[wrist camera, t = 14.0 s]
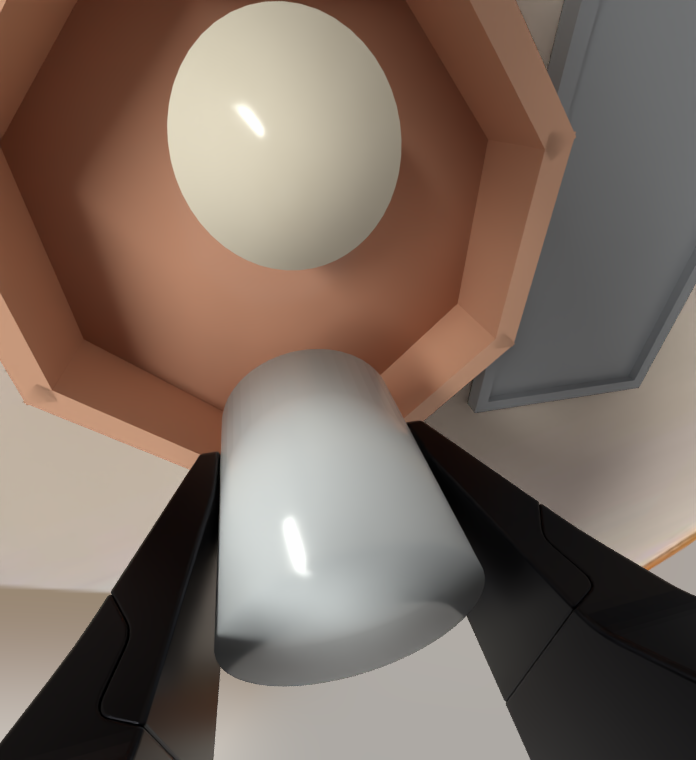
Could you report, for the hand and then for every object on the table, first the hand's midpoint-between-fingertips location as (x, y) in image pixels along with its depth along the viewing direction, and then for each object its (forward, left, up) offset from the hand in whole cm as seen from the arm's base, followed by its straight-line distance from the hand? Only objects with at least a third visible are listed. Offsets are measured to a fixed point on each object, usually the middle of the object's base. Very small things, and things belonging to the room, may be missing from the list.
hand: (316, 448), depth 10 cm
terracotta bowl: (-3, 0, -8) cm, 8 cm away
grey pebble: (0, 0, -1) cm, 1 cm away
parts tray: (-3, +14, -8) cm, 16 cm away
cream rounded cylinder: (-6, 0, -7) cm, 9 cm away
